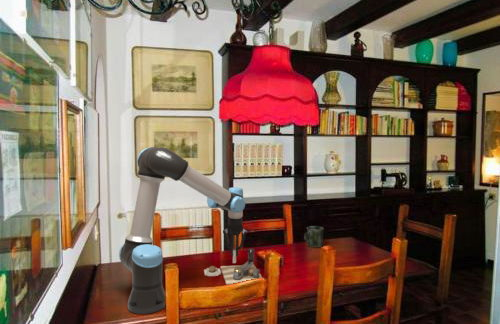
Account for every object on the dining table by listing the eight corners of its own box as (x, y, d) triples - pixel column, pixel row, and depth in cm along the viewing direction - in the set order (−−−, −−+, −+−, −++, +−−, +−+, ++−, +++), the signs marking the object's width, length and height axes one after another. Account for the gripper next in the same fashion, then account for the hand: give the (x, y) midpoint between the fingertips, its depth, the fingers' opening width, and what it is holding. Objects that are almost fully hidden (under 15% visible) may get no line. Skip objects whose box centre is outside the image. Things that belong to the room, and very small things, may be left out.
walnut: (256, 276, 169) (257, 268, 170) (250, 276, 168) (251, 268, 169) (252, 275, 172) (253, 268, 173) (246, 275, 170) (247, 267, 171)
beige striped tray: (264, 283, 164) (264, 273, 164) (226, 286, 161) (226, 275, 161) (253, 267, 187) (253, 258, 187) (220, 269, 183) (220, 259, 183)
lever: (241, 280, 163) (241, 260, 163) (232, 278, 165) (232, 259, 165) (257, 267, 181) (257, 249, 181) (248, 266, 183) (249, 248, 183)
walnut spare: (216, 274, 174) (216, 266, 173) (209, 274, 173) (209, 267, 173) (215, 271, 177) (215, 264, 177) (208, 271, 176) (208, 264, 176)
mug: (327, 246, 228) (327, 228, 227) (310, 250, 220) (310, 231, 219) (315, 242, 237) (316, 225, 236) (299, 245, 229) (299, 227, 229)
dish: (221, 277, 172) (221, 273, 172) (204, 278, 170) (204, 274, 170) (219, 271, 180) (219, 267, 180) (203, 272, 178) (203, 268, 178)
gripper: (248, 216, 184) (247, 260, 185) (224, 215, 185) (223, 259, 186) (247, 219, 177) (246, 265, 177) (221, 218, 178) (221, 263, 178)
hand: (234, 262), depth 182 cm, fingers closed
